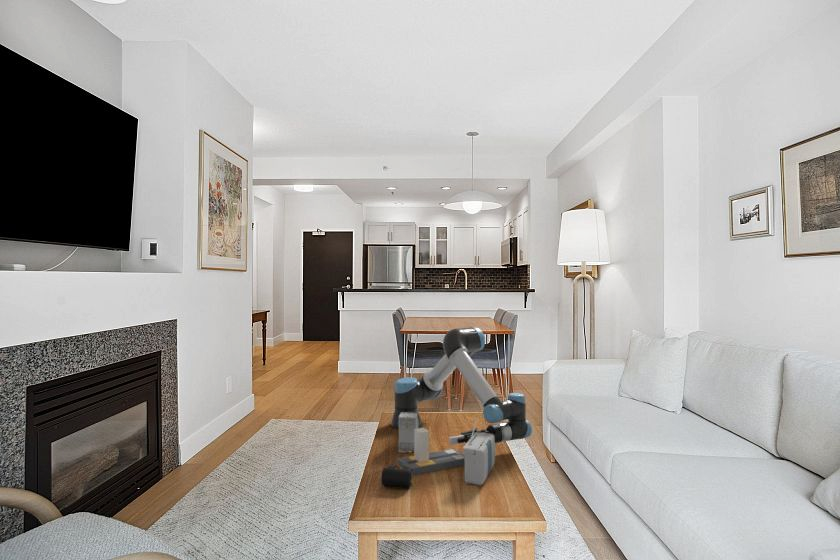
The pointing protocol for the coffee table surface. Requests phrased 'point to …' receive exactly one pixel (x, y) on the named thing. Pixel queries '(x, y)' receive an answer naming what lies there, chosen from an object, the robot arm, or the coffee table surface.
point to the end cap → (396, 477)
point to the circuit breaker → (407, 431)
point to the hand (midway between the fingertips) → (449, 441)
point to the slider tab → (421, 445)
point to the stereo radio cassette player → (479, 457)
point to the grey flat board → (433, 461)
